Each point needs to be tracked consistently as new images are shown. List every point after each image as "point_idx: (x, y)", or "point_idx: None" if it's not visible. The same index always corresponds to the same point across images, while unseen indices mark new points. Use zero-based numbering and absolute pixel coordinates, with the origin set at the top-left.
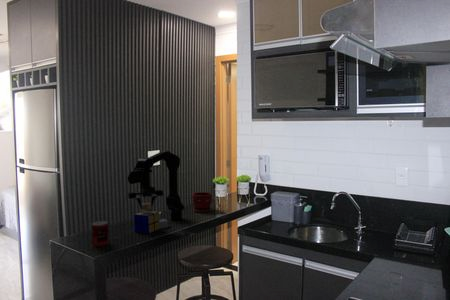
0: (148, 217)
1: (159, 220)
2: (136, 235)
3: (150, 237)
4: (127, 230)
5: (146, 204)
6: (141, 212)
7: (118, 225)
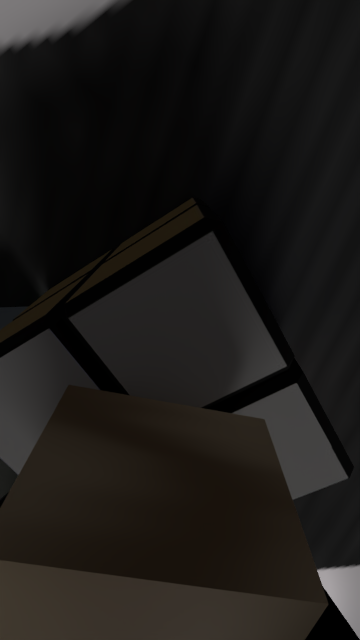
0: (198, 218)
1: None
2: (320, 220)
3: (236, 22)
4: None
5: (152, 606)
6: None
7: None
